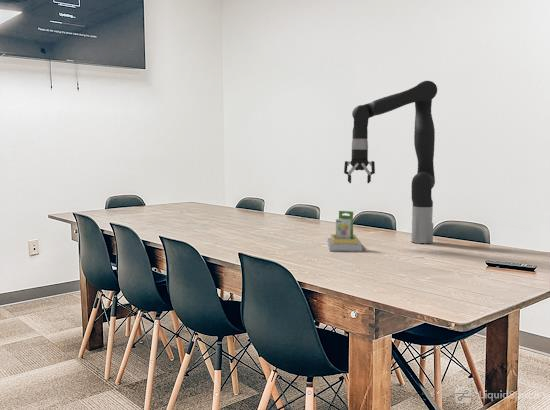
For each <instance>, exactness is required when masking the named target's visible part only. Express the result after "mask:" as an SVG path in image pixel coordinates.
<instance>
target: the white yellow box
mask: <svg viewBox="0 0 550 410" xmlns="http://www.w3.org/2000/svg"><path fill="white" fill-rule="evenodd" d="M327 247H328V250H330V251H329V252H363V244H362V243H361V240H360V239H359V238H358V236H357V235H356V234H355V233H353V239H336V233H333V234H331V233H330V237H327Z"/></svg>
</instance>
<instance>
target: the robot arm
mask: <svg viewBox="0 0 550 410" xmlns="http://www.w3.org/2000/svg"><path fill="white" fill-rule="evenodd" d="M437 93H438V86H437V85H436V83H435V82H434V81H431V80H424V81H423V80H422V81H421V82H419V83H418V84H417V85H415V86H414V87H411V88H409V89H406V90H404V91H401V92H398V93H395V94H390V95H388V96H383V97H380V98H378V99H375V100H373V101H371V102H368V103H365V104H360V105H357V106H355V107H354V109H353V110H352V116H351V117H352V118H353V128H352V137H351V138H352V139H351V140H352V141H351V159H350V161H347V160H345V161H344V167H343V169H344V170H343V173H344V174H345V175H347V182H348V183H349V184H352V173H353V172H354V171H364V172H366V174H367V175H366V176H367V178H366V179H367V182H366V183H367V184H370V183H371V182H372V175H374V174H376V172H375V171H376V165H375V161H374V160H372V161H369V160H368V158H369V157H368V156H369V150H368V149H369V141H368V133H369V131H368V130H369V129H368V126H369V119H370V118H373V117H375V116H379V115H380V116H381V115H383V114H385V113H390V112H392V111H395V110H397V109H399V108H401V107H404V106H406V105H409V104H414V107H415V109H414V110H415V116H414V117H415V118H414V137H413V138H414V139H413V141H414V142H413V143H414V149H415V150H414V151H415V155H416V158H417V171H416V172H417V173H416V174H415V175H414V176H413V177H412V178H411V179H412V180H411V202H412V210H411V211H412V212H411V213H412V214H411V218H412V219H411V243H413V242H415V243H414V244H419V243H424V244H425V243H426V244H427V243H429V244H433V242H434V222H433V208H434V207H433V206H434V201H433V197H432V189H433V188H434V186H435V184H436V177H435V169H434V168H435V167H434V166H435V165H434V157H435V156H434V155H435V142H436V141H435V139H436V137H435V135H436V132H435V130H436V129H435V123H434V120H433V115H432V103H433V99H434V98H435V97H436V96H437ZM350 165H351V168H350V170H349V171H348V167H349V166H350ZM368 165H369V166H370V167H371V168H370V169H371V171H370V170H369V168H368ZM424 244H423V245H424Z"/></svg>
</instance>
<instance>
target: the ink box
mask: <svg viewBox="0 0 550 410" xmlns="http://www.w3.org/2000/svg"><path fill="white" fill-rule="evenodd" d="M343 214H348V215H343ZM335 234H336V239H353V234H354V211H347V210H339V211H338V218H336V219H335Z"/></svg>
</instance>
